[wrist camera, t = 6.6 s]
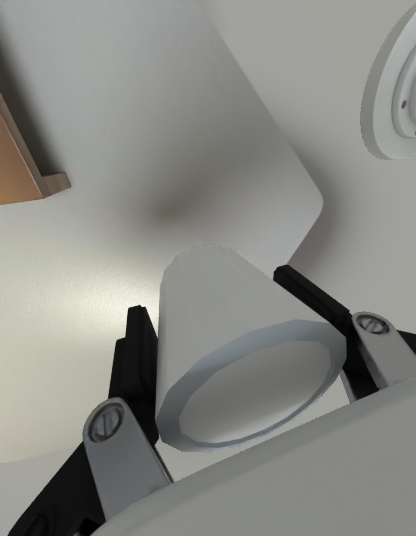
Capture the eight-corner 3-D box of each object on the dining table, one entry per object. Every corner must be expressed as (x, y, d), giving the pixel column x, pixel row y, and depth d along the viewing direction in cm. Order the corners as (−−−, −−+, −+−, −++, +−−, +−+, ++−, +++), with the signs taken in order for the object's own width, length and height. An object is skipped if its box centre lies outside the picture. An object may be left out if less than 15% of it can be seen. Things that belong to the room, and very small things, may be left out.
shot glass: (121, 287, 11) (97, 439, 5) (220, 207, 10) (322, 274, 4) (195, 341, 15) (231, 465, 9) (271, 284, 14) (364, 377, 8)
